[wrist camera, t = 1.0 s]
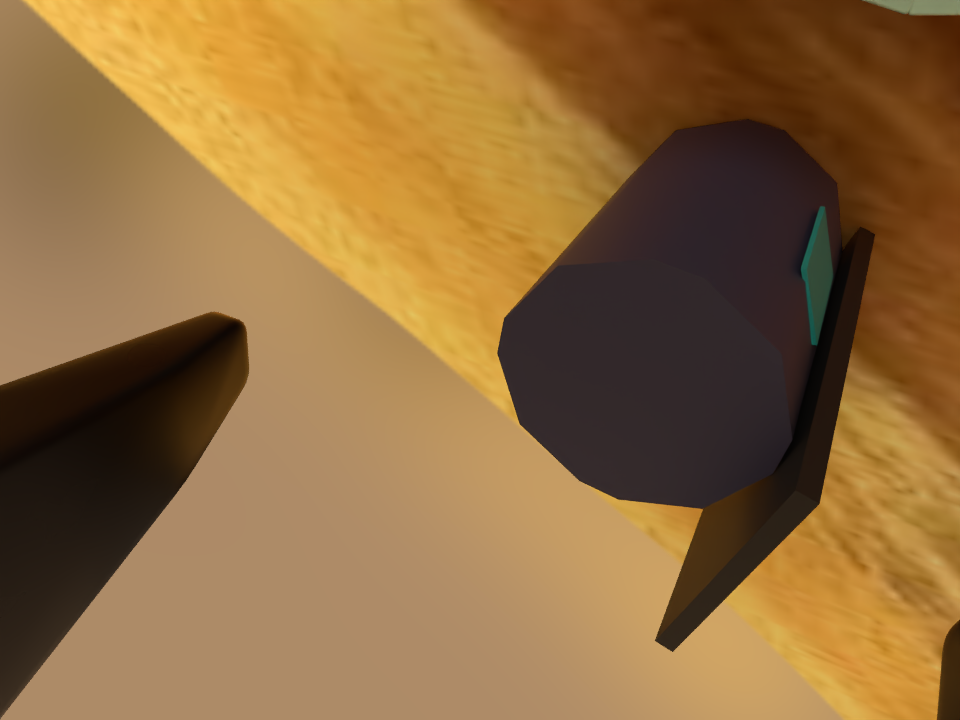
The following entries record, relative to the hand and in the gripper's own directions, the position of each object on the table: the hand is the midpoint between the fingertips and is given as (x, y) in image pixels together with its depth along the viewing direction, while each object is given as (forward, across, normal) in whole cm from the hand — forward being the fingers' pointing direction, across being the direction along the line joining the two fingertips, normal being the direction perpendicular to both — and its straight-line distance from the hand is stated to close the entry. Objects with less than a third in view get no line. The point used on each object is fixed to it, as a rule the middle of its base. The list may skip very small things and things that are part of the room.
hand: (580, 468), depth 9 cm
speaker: (+13, -1, +4) cm, 14 cm away
